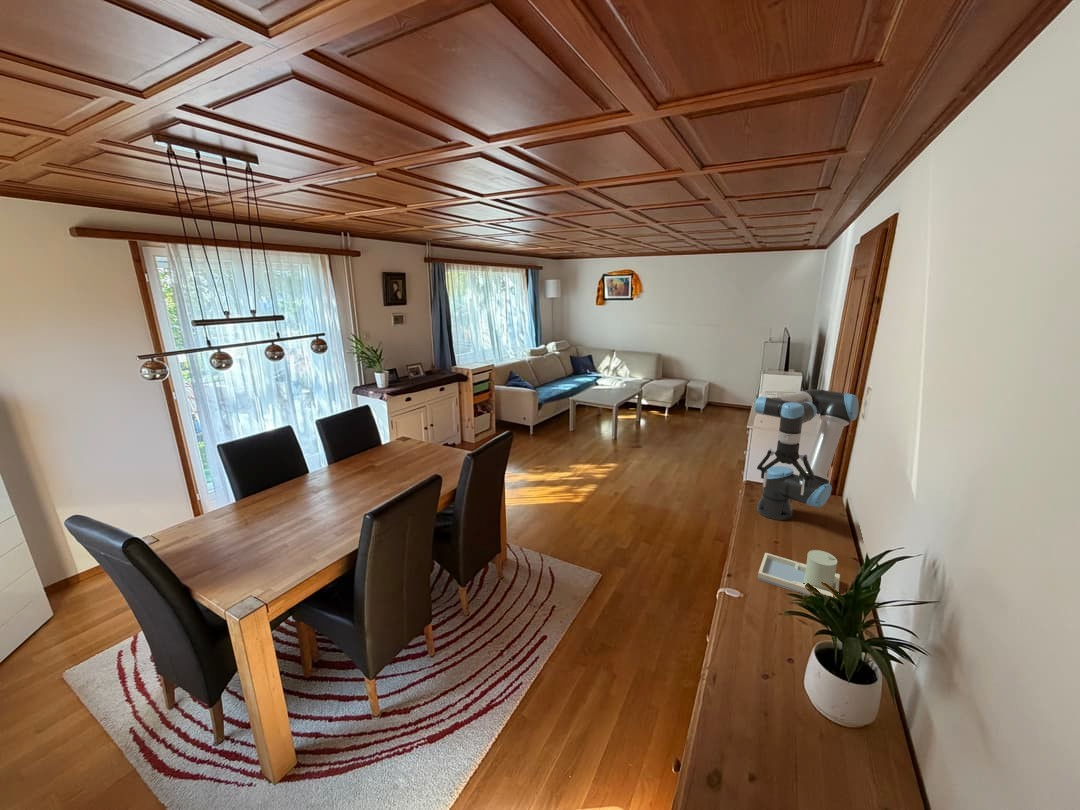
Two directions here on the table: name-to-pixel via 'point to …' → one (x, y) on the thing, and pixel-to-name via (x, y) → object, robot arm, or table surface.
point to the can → (820, 569)
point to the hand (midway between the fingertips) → (782, 489)
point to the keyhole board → (788, 574)
